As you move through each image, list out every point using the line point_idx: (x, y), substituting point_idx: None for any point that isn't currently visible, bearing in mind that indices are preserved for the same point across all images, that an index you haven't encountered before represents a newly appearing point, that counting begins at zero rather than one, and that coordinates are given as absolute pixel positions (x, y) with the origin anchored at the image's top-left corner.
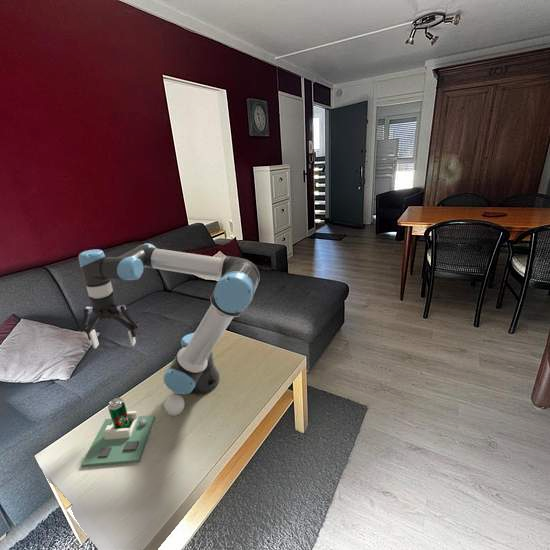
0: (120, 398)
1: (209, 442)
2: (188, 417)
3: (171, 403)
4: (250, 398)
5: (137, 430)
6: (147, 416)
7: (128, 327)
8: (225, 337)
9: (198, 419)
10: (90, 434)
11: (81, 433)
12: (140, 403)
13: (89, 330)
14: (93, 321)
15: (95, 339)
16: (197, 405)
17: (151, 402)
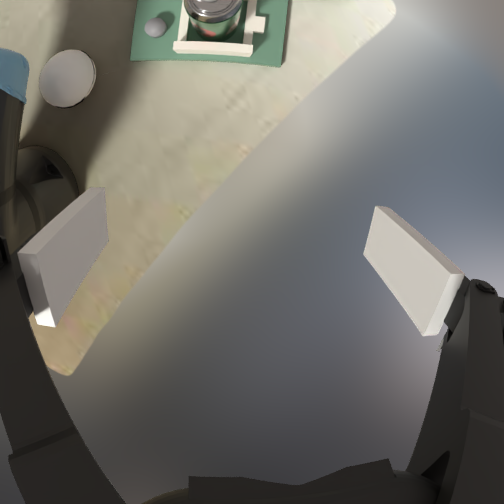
0: (198, 11)
1: (8, 3)
2: None
3: (58, 59)
4: None
5: (169, 10)
6: (150, 56)
7: (2, 284)
8: (44, 355)
9: (26, 58)
10: (309, 33)
11: (335, 43)
12: (191, 121)
13: (476, 296)
14: (493, 390)
15: (395, 259)
16: (31, 103)
17: (157, 121)
